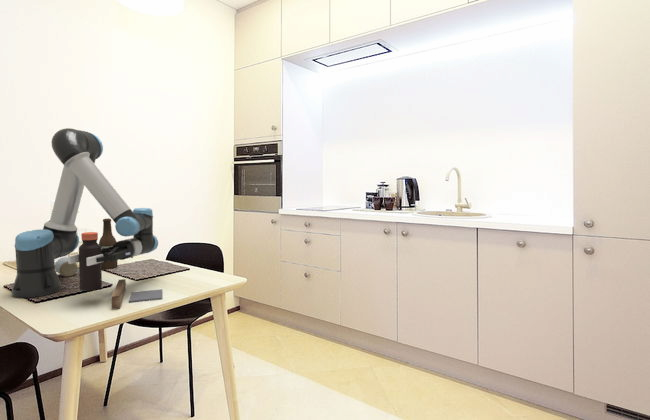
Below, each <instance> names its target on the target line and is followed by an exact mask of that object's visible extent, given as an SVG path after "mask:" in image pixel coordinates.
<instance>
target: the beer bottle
mask: <svg viewBox="0 0 650 420" xmlns="http://www.w3.org/2000/svg"><path fill="white" fill-rule="evenodd" d="M102 222H103V225H102V226H103V227H102V235H101V237H100V238H99V241H98V244H99V245H100V246H101V247H102V248H108V247H111V246H113V245H114V244H115V243H116V242H117V239H116V238H115V236H114V235H113V232H112V231H113V229H112V218H103V219H102ZM116 268H118V260H116V261H113V262H110V260H109V261H107V262H105V261H103V262H101V270H111V269H116Z"/></svg>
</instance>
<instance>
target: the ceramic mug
mask: <svg viewBox="0 0 650 420" xmlns="http://www.w3.org/2000/svg"><path fill="white" fill-rule="evenodd" d="M55 271H56V273H57V274H59V275H61V276H62V277H64V278H65V277H66V278H69V277H72V276H74V275H76V274H77V273H78V274H79V265H78V264H77V263H73V264H69V260H68V257H66V256H63V257H59V258H58V260H56V261H55Z"/></svg>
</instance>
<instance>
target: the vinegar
mask: <svg viewBox="0 0 650 420" xmlns="http://www.w3.org/2000/svg"><path fill="white" fill-rule="evenodd" d="M80 236H81V242H82V244H80V246H78V254H79V262H78V267H79V273H78V275H79V278H78V279H79V290H80V291H84V292H89V291H90V292H91V291H97V290H99V289H101V288H102V287H103V283H102V282H103V277H102V273H103V271H102V270H103V269H101V263H97V264H94V265H90V266H87V259H86V258H88V257H92V256H97V255H101V246H100V245H99V242H98V239H99V237H98V236H99V232H97V231H95V232H94V231H87V232H82V233H81V234H80Z"/></svg>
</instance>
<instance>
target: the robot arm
mask: <svg viewBox="0 0 650 420" xmlns="http://www.w3.org/2000/svg"><path fill="white" fill-rule="evenodd" d="M51 148H52V151H53V152H54V155H55V156H56V157H57V158H58V160H59V161H60V163H61V164H62V165H63V168H62V171H61V176H60V179H59V183H58V187H57V192H56V195H55V200H54V203H53V207H52V212H51V215H50V219H49V220H48V221H45V223H44V224H43V228H42V229H32V230H27V231H23V232H21V233H19V234H17V235H16V236H15V239H14V249H15V264H16V265H15V266H16V277H15V280H14V282H13V285H12V288H11V295H12V297H14V298H22V299H23V298H24V299H25V298H37V297H36V296H38V297H43V295H44V296H47V294H48V295H51V293H52V294H55V293H57V292H59V291H60V290H62V283H61V281H60V278H59V276H58V273H57V271H56V270H55V263H56V261H55V260H56V259H60V258H64V257H66V256H68V255H69V256H68V257H67V258H68V260H69V264H73V263H76V264H77V263H79V253H77V254H72V255H70V254H71V253H73V252H74V251H75V250H76V249H77V248H78V247H79V243H80V237H79V235H78V227H77V226H76V224H75V223H76V219H77V216H78V212H79V207H80V205H81V204H80V203H81V201H82V200H81V199H82V197H83V193H84V188H86V189H87V190H88V191H89V193H90V194H91V195H92V196H93V198H94V199H95V201H97V202H98V204H99V205H100V206H101V207H102V209H103V210H104V211H105V212H106V213H107V215H108V216H109V217H110V219H111V221H113V222H114V223H115V226H114V227H115V231H116V233H117V234H118V235H120V236H121V237H129V238H127V239H126V238H125V239H122V240H118V241H116V243H115V244H114V245H113V246H111V247H108V248H102V247H101V255H97V256H92V257H88V258H86V259H87V266H90V265H94V264H97V263H101V262H103V261H105V262H107V261H109V260H110V262H113V261H116V260H117V261H119V260H120V261H123V260H126V259H127V260H128V259H134V257H137V256H140V255H145V254H148V253H151V252H154V251H155V250H157V249H158V246H159V240H158V239H157V236H156V235H154V233H153V232H154V231H153V230H154V229H153V228H154V227H153V225H154V223H153V222H154V221H153V219H154V213H153V209H152V208H149V207H138V208H134V209H131V207H130V206H129V205H128V204H127V202H126V201H125V200H124V199H123V198H122V197H121V195H120V194H119V193H118V191H117V190H116V189H115V188H114V186H113V185H112V184H111V183H110V181H109V180H108V179H107V178H106V177H105V175H104V174H103V173H102V172H101V169H99V168H98V166H97V165H96V164H95V163H96V160H97V159H99V158H100V157H101V156H102V155H103V152H104V151H103V150H104V146H103V143H102V141H101V139H100V138H99V137H98V136H97V135H95V133H91V132H89V131H85V130H80V129H75V128H71V127H70V128H69V127H68V128H62V129H59V130H58V131H56V132H55V133H54V135H53V136H52V139H51ZM132 236H133V237H132ZM130 237H131V238H130ZM54 292H55V293H54Z"/></svg>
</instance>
